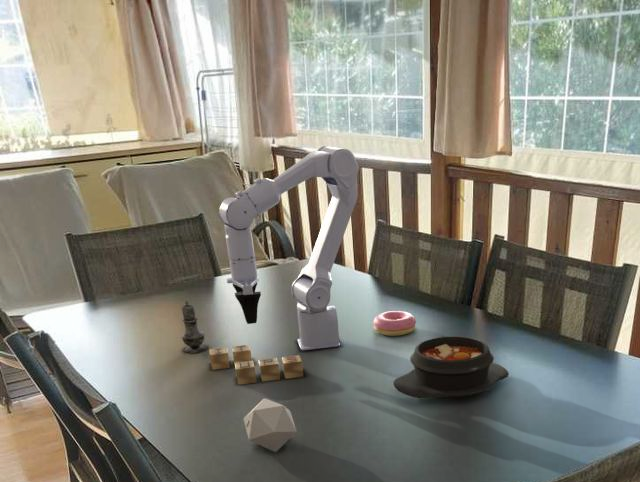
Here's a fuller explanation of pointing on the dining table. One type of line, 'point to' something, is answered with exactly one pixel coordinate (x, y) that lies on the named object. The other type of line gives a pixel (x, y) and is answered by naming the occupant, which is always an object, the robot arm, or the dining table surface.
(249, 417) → the die
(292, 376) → the tile
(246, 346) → the tile
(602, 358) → the dining table surface
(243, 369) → the tile
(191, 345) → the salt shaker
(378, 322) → the doughnut
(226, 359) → the tile
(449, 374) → the casserole
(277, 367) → the tile
